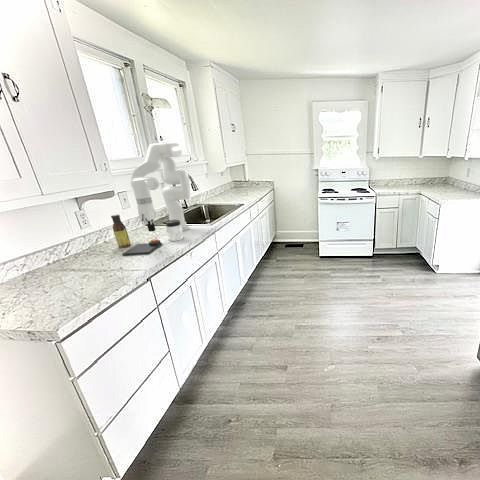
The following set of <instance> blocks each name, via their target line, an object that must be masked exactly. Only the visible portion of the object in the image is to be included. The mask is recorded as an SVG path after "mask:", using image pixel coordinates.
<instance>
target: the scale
mask: <svg viewBox="0 0 480 480" xmlns="http://www.w3.org/2000/svg"><path fill="white" fill-rule="evenodd" d="M162 245H163V243H162V242H161V240H160V239H157V242H155V243H152V241H151V240H150V241H149V242H146V243H136V244H135V245H133V246H132V247H130V248H128V249H127V250H126V251H124V252H122V254H121V256H122V257H128V256H129V257H130V256H143V255H150V254H151V253H153V252H154V251H155V250H157V249H159V247H161V246H162Z"/></svg>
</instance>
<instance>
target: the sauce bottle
mask: <svg viewBox="0 0 480 480" xmlns="http://www.w3.org/2000/svg"><path fill="white" fill-rule="evenodd" d="M110 218H111V220H112V223H113V225H112V231H113V235H114V237H115V240H116V243H117V246H118V248H120V249H124V248H128V247H130V246H131V240H130V237H129V234H128V230H127V228H126V226H125V225H124V222H122V220H121V216H120V214H119V213H118V214H112V215H110Z"/></svg>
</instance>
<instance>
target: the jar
mask: <svg viewBox="0 0 480 480" xmlns="http://www.w3.org/2000/svg"><path fill="white" fill-rule="evenodd" d="M165 229H166V233H167V237H168V241H170V242H171V241H172V242H175V241H180V240H183V239H184V231H182V227H181V224H180V220H170V219H169V220H167V221H165Z"/></svg>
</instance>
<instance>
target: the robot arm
mask: <svg viewBox="0 0 480 480" xmlns="http://www.w3.org/2000/svg"><path fill="white" fill-rule="evenodd" d="M182 153H183V149H182V146H181V145H180V144H179V143H177V142H170V143H169V142H165V143H164V142H163V143H161V142H160V143H151V144H149V146H148V148H147V151H146V155H145V159H144V162H142V163H141V164H139V165H138V166H137V167H135V169H134V170H133V171H132V174H131V176H130V177H131V178H130V187H131V188H132V190H133V194H134V197H135V200H136V204H137V213H138V218H139V221H140V222H143V224H144V225H146V226H147V230H148V232H150V233H151V232H156V227H155V219H156V216H157V213H156V209H155V207H154V204H153V199H152V195H151V191H155V190H157V189H159V187H160V181H159V179H158V178H156V177H153V176H147V175H149V174H152V173H154V172H157V171H158V170H159V169H161V168H162V176H163V182H164V183H165V184H166V185H169V186H165V187H163V188H162V190H161V194H162V197H163V199H164V202H165V205H166V208H167V214H168V218H169V221H170V220H180V224H181V227H182V232H185V231H188V230H189V229H190V227H189V226H188V225H187V221H186V219H185V218H186V217H185V214H184V209H183V205H182V203H181V202H180V201H184V200H189V199H190V198H191V186H190V185H191V184H190V176H189V174H188V172H187V171H185V170H183V169H182V170H181V169H180V170H179V169H177V163H176V161H175V160H174V159H173V158H178V157H180V156H181V155H182ZM161 166H162V167H161ZM171 185H172V186H171Z"/></svg>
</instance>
